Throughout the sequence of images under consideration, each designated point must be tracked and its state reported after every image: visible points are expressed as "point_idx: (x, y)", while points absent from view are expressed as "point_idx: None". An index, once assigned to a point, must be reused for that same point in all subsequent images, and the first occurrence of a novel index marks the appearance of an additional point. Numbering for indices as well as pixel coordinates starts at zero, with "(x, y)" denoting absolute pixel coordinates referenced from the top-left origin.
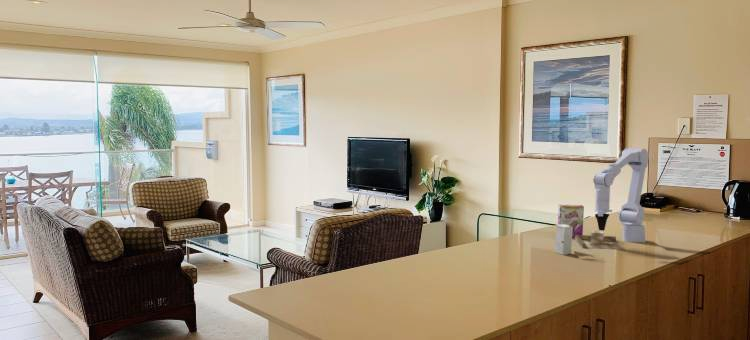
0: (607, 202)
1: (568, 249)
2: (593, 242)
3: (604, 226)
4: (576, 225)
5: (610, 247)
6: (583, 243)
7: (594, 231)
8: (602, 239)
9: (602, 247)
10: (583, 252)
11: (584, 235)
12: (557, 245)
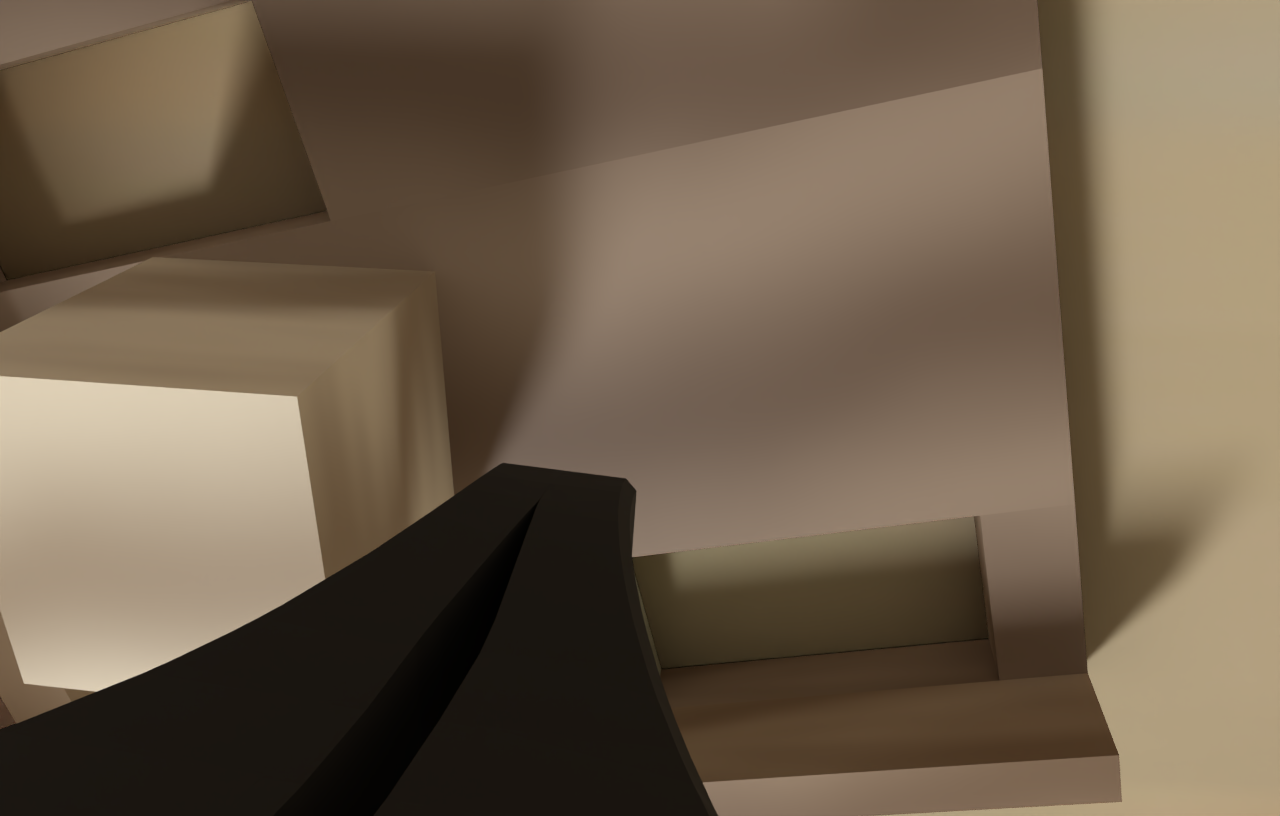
0: None
1: None
2: (442, 498)
3: (627, 582)
4: None
5: (788, 63)
6: (1115, 786)
7: (80, 627)
8: (383, 331)
9: (865, 285)
10: (1268, 662)
11: (22, 700)
12: None
